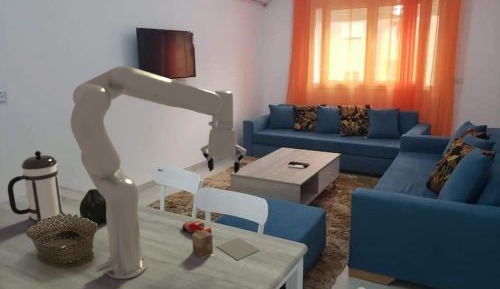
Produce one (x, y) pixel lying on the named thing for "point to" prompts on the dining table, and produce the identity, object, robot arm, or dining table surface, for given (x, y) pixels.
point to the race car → (195, 227)
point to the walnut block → (202, 243)
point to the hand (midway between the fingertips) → (223, 171)
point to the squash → (93, 206)
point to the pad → (238, 248)
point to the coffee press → (39, 188)
